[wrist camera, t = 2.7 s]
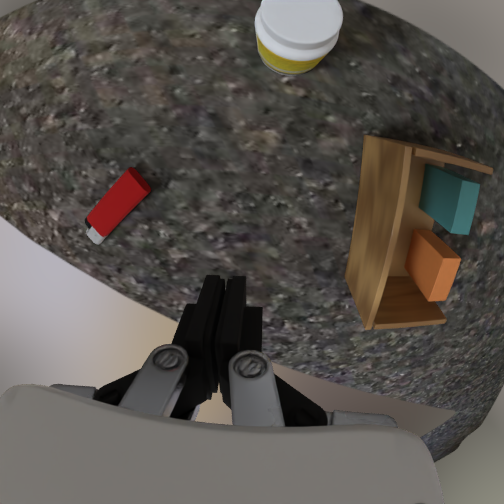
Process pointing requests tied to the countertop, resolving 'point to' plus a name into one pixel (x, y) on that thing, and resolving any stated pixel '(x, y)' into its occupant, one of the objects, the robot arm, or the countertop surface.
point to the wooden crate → (392, 232)
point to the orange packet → (431, 264)
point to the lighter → (116, 205)
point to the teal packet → (449, 198)
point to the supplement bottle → (296, 33)
